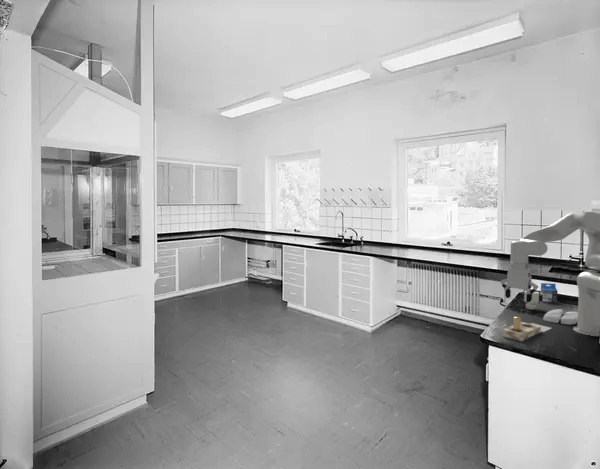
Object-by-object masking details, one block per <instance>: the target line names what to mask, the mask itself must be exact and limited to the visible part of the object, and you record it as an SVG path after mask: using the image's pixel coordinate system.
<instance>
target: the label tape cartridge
mask: <svg viewBox="0 0 600 469" xmlns="http://www.w3.org/2000/svg"><path fill="white" fill-rule="evenodd" d="M540 294H542V295H543V301H541V303H554V304H555V303H558V290H557V287H556V283H549V282H547V283H546V282H545V283H544V282H541V283H540Z"/></svg>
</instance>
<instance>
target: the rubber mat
mask: <svg viewBox="0 0 600 469" xmlns="http://www.w3.org/2000/svg"><path fill="white" fill-rule="evenodd" d="M530 324H533V325H537V326H541V332H543V333H545V332H547V331H549V330H551V329H552V327H550V326H545V325H541V324H537V323H533V322H531V323H530Z"/></svg>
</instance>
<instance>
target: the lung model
mask: <svg viewBox="0 0 600 469" xmlns="http://www.w3.org/2000/svg"><path fill="white" fill-rule="evenodd" d="M563 310H564V309H560V308H559V309H557V308H554V309H552V310H549V311H547V312H546V313H545V314H544V315H543V317H542V320H543V321H545V322H550V323H555V324H557V323H560V324H562V325H567V326H571V325H572V326H573V325H575V324H577V319H578V311H566V312H564V311H563Z"/></svg>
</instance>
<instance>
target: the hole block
mask: <svg viewBox="0 0 600 469" xmlns="http://www.w3.org/2000/svg"><path fill="white" fill-rule="evenodd" d="M533 324H534V323H533ZM533 324H531V323H528V322H523V321H521V323H520V332H516V331H513V325H510V326H508V327H505V328H503V329H502V337H505V338H508V339H511V340H515V341H518V342H523V341H527V340H529V339H530V338H531V337H533V336H535V335H538V334H540V333H541V332H542V331H541V326H537V325H533Z"/></svg>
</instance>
